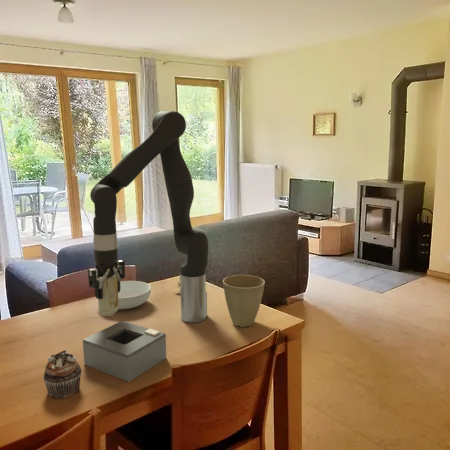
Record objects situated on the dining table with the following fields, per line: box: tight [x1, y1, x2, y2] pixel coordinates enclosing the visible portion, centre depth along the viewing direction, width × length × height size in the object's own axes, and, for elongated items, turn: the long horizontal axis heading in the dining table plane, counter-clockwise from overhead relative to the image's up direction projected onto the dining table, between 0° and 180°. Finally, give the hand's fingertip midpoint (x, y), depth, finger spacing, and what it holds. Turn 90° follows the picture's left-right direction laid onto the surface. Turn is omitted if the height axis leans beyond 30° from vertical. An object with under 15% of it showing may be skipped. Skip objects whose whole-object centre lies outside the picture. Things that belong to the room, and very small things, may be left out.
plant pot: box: [222, 274, 266, 328], centre depth 160 cm, size 15×15×16 cm
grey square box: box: [82, 320, 167, 383], centre depth 133 cm, size 16×18×9 cm
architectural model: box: [172, 281, 181, 292], centre depth 191 cm, size 3×7×7 cm, turn 54°
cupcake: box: [42, 350, 83, 399], centre depth 118 cm, size 10×10×10 cm
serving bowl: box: [118, 280, 152, 310], centre depth 178 cm, size 21×21×7 cm
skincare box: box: [97, 276, 120, 317], centre depth 147 cm, size 6×4×12 cm
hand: (108, 295), depth 147 cm, fingers closed on skincare box, 7 cm apart
